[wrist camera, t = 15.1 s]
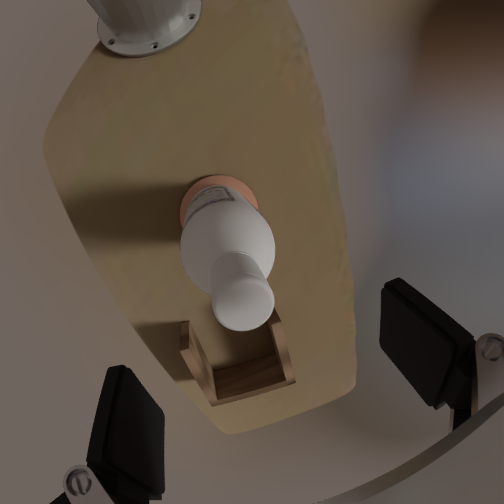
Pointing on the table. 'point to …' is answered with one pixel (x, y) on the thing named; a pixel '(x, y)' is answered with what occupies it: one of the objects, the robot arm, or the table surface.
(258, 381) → the shelf bay
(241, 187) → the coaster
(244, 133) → the table surface
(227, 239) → the bath foam
